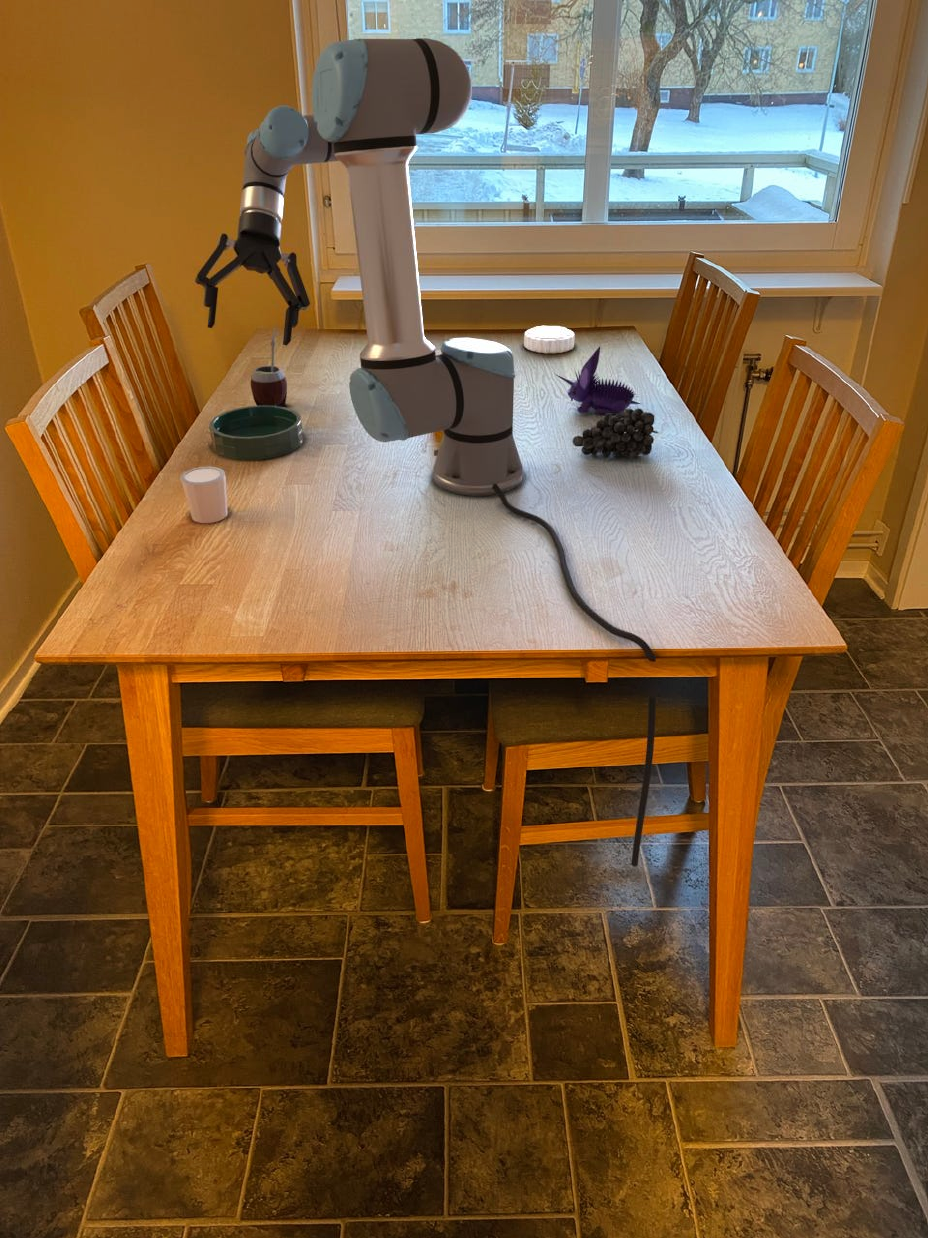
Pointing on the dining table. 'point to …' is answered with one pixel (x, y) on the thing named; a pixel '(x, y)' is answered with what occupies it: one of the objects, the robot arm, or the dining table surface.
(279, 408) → the green round tray
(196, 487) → the white cylinder
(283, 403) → the mate gourd
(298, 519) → the dining table surface
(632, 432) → the fruit
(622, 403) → the creature
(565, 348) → the white lid
